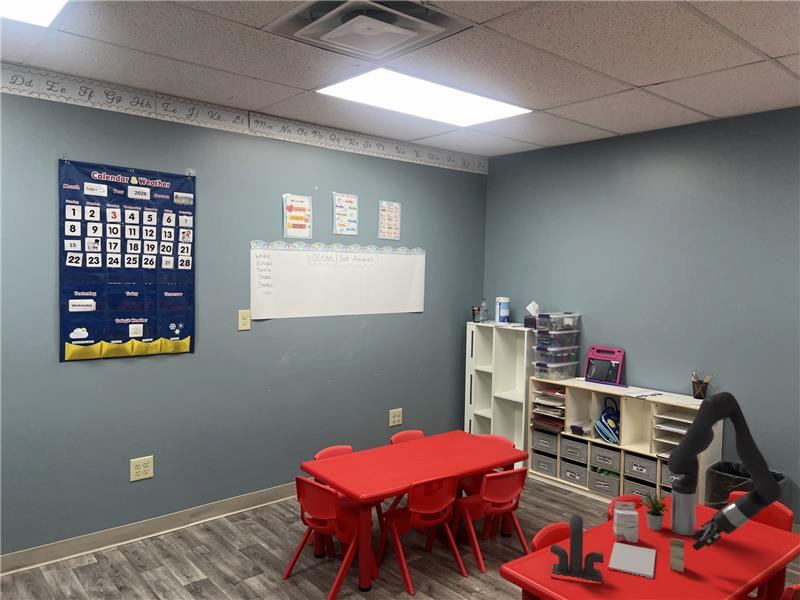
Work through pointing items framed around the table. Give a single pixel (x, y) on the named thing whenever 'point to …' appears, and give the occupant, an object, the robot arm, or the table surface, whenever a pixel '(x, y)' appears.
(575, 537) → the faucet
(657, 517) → the house plant
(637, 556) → the grey board
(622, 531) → the ink cartridge box
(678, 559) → the wooden block
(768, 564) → the table surface
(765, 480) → the robot arm
